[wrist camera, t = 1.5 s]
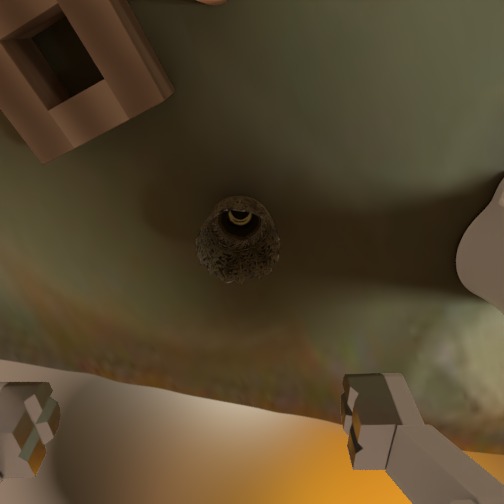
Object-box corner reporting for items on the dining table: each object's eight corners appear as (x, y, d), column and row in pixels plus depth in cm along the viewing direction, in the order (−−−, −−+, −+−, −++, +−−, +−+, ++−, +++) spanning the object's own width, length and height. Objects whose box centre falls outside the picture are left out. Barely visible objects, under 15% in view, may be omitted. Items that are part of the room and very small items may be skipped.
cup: (215, 248, 43) (208, 292, 36) (195, 186, 40) (183, 221, 33) (282, 235, 42) (288, 276, 36) (267, 170, 39) (271, 202, 32)
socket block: (92, -64, 30) (65, -79, 25) (175, 90, 35) (164, 100, 31) (-28, 16, 32) (-72, 15, 28) (66, 148, 38) (43, 165, 33)
